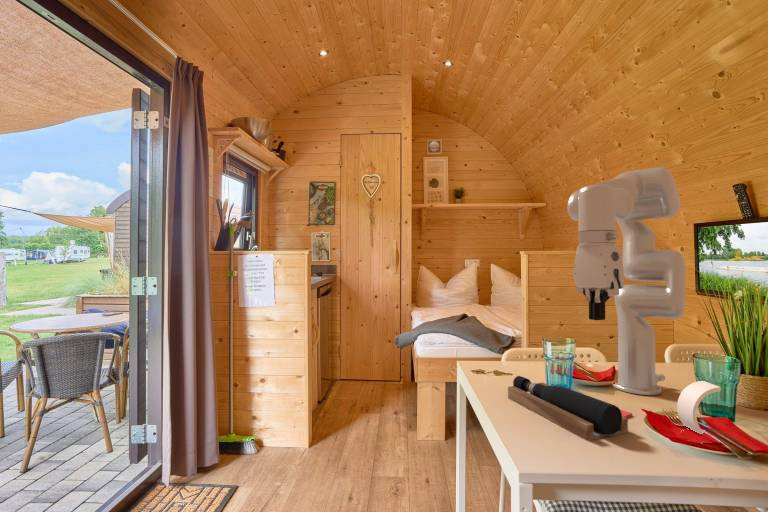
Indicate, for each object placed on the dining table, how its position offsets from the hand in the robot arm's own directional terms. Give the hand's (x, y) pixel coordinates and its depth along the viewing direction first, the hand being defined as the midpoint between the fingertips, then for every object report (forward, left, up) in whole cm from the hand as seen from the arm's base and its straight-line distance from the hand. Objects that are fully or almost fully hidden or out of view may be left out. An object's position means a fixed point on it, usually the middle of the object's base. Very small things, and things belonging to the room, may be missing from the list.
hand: (597, 319), depth 90 cm
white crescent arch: (-18, +10, -26) cm, 33 cm away
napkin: (-11, -7, -26) cm, 29 cm away
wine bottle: (0, +4, -22) cm, 22 cm away
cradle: (0, -11, -26) cm, 28 cm away
